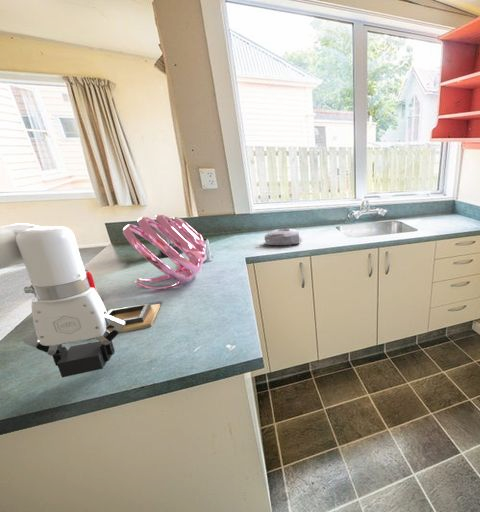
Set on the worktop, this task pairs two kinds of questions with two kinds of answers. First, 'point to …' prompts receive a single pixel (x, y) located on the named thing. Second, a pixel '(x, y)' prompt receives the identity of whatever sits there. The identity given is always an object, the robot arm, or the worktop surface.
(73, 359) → the dark grey rectangular block
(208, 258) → the planter
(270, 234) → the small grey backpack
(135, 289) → the worktop surface
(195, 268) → the spiral basket
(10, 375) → the worktop surface
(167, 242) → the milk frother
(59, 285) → the robot arm
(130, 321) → the base pad
